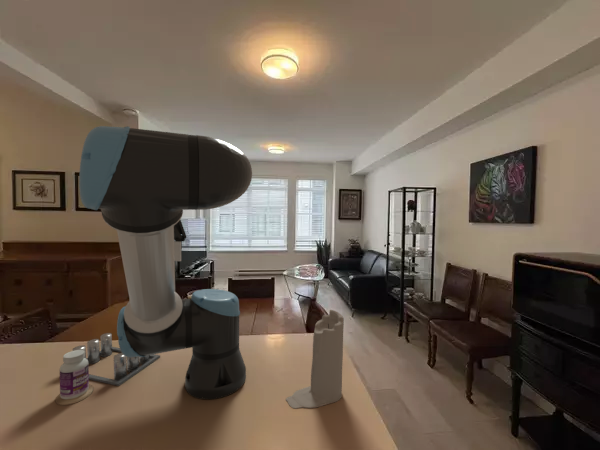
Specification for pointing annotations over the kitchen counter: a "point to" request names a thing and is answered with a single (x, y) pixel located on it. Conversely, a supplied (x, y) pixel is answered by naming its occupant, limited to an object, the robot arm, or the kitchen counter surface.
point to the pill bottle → (74, 375)
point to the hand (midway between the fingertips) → (162, 265)
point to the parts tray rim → (118, 383)
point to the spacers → (106, 350)
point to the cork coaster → (75, 400)
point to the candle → (324, 365)
